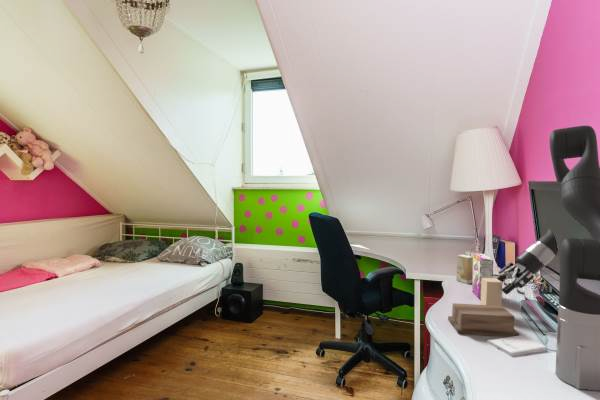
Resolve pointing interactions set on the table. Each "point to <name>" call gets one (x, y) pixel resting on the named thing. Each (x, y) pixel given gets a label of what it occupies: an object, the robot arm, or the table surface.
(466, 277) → the skincare box
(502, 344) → the external hard drive
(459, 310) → the podium
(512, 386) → the table surface
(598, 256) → the robot arm
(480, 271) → the candy bar box
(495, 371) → the table surface
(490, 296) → the tan carton
